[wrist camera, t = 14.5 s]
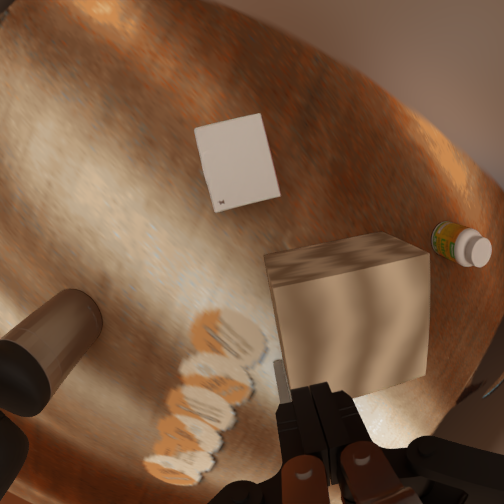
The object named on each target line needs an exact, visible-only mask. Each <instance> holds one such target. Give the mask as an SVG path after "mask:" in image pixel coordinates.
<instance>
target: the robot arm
mask: <svg viewBox="0 0 504 504" xmlns="http://www.w3.org/2000/svg"><path fill="white" fill-rule="evenodd" d="M101 329H102V318H101V314H100V311H99V309H98V307H97V306H96V304H95V303H94V301H93V300H92V299H91V298H90V297H89V296H87V295H86V294H85V293H83V292H81V291H79V290H75V289H66V290H63V291H61V292H60V293H58V294H57V295H56V296H54V297H53V298H52V299H50V300H49V301H47V302H46V303H45V304H43V305H42V306H41V307H40V308H38V309H37V310H36V311H34V312H33V313H32V314H30V315H29V316H28V317H27V318H25V319H24V320H23V321H22V322H20V323H19V324H18V325H17V326H15V327H14V328H13V329H12V330H10V331H9V332H8V333H7V334H6V335H4V336H3V337H2V338H1V339H0V408H3V409H5V410H7V411H9V412H11V413H13V414H16V415H19V416H23V417H32V416H35V415H37V414H39V413H40V412H41V411H42V410H43V409H44V407H45V406H46V405H47V403H48V402H49V400H50V399H51V398H52V396H53V395H54V394H55V392H56V391H57V389H58V388H59V387H60V385H61V384H62V383H63V381H64V380H65V379H66V377H67V376H68V375H69V373H70V372H71V371H72V369H73V368H74V367H75V365H76V364H77V363H78V361H79V360H80V359H81V358H82V356H83V355H84V354H85V352H86V351H87V350H88V349H89V347H90V346H91V345H92V343H93V342H94V341H95V340H96V338H97V337H98V336H99V334H100V332H101ZM290 392H291V398H292V402H288V403H283V404H279V407H278V409H277V411H276V420H277V427H278V434H279V440H280V447H281V454H282V467H281V469H280V470H279V472H278V473H277V474H276V475H275V476H273V477H272V478H270V479H268V480H266V481H264V482H261V483H259V484H256V483H254V482H251V481H245V480H241V481H235V482H232V483H230V484H228V485H226V486H225V487H224V488H223V489H222V490H221V491H220V492H219V493H218V494H217V495H216V496H215V497H214V498H213V499H212V500H211V501H210V502H209V503H207V504H330V499H329V492H328V486H330V480H331V484H332V485H334V484H338V483H339V487H340V490H341V500H342V503H343V504H504V455H501V454H497V453H493V452H489V451H485V450H481V449H477V448H473V447H469V446H466V445H462V444H459V443H455V442H452V441H448V440H445V439H442V438H438V437H435V436H422V437H419V438H416V439H415V440H413V441H412V442H411V443H410V444H409V446H408V447H407V448H398V449H386V448H382V447H379V446H378V445H377V444H375V443H373V441H372V440H371V438H370V436H369V434H368V432H367V430H366V427H365V425H364V423H363V421H362V419H361V417H360V415H359V413H358V410H357V408H356V407H355V404H354V402H353V400H352V398H351V396H350V395H348V394H347V393H346V392H344V391H343V390H341V391H337V392H333V393H332V392H331V389H330V387H329V384H328V382H327V381H326V382H322V383H318V384H313V385H309V387H308V386H305V387H300V388H295V389H290ZM28 450H29V441H28V438H27V436H26V435H25V434H24V433H23V431H22V430H21V429H20V428H19V427H18V426H17V425H15V424H14V423H13V422H12V421H11V420H10V419H9V418H8V417H7V416H5V414H4V413H3V412H2V411H0V501H1V499H2V498H3V496H4V495H5V493H6V492H7V490H8V489H9V487H10V486H11V484H12V483H13V481H14V480H15V478H16V476H17V475H18V473H19V471H20V470H21V468H22V466H23V464H24V462H25V460H26V457H27V454H28Z"/></svg>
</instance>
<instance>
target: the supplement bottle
mask: <svg viewBox="0 0 504 504" xmlns="http://www.w3.org/2000/svg"><path fill="white" fill-rule="evenodd" d="M431 241H432V247H433V249H434V251H435V252H436V253H437V254H439V255H441V256H443V257H445V258H447V259H449V260H451V261H453V262H455V263H457V264H460V265H462V266H465V267H470V266H473V265H474V266H476V267H482V266H484V265H485V264H486V263H487V262H488V261H489V259H490V256H491V251H492V248H491V244H490V242H489V240H488V239H486V238H484V237H482V236H481V234H480V233H479V232H478V231H477V230H475V229H472V228H469V227H466V226H462V225H459V224H456V223H452V222H449V221H444V222H441V223H440V224H438V225H437V226H436V228H435V229H434V231H433V234H432V239H431Z"/></svg>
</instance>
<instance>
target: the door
mask: <svg viewBox="0 0 504 504" xmlns="http://www.w3.org/2000/svg"><path fill="white" fill-rule="evenodd" d="M273 363H274V369H275V375H276V380H277V386H278V392H279V398H280V403H281V404H283V403H288V402H291V401H290V396H289V392H288V388H287V383H286V379H285V375H284V371H283V366H282V362H281V360H280V361H275V362H273Z"/></svg>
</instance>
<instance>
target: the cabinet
mask: <svg viewBox="0 0 504 504" xmlns="http://www.w3.org/2000/svg"><path fill="white" fill-rule="evenodd" d="M264 261H265V266H266V271H267V276H268V282H269V287H270V292H271V298H272V303H273V309H274V314H275V319H276V325H277V330H278V336H279V341H280V346H281V352H282V357H283V362H284V366H285V370H286V375H287V379H288V384H289V388H290V389H295V388H300V387H305V386H308V387H309V385H313V384H318V383H322V382H326V381H327V382H328V384H329V387H330V389H331V392H332V393H333V392H337V391H341V390H343V391H344V392H346V393H347V394H348V395H350V396H351V398H356V397H359V396H363V395H366V394H370V393H373V392H376V391H380V390H383V389H386V388H389V387H392V386H395V385H398V384H401V383H404V382H407V381H410V380H413V379H416V378H419V377H421V376H424V375H425V373H426V363H427V352H428V338H429V319H430V253H428V252H426V251H424V250H421V249H419V248H417V247H415V246H413V245H411V244H409V243H406V242H404V241H402V240H400V239H398V238H395V237H393V236H391V235H389V234H387V233H384V232H382V231H381V232H376V233H371V234H366V235H361V236H356V237H351V238H346V239H341V240H336V241H331V242H326V243H321V244H316V245H311V246H306V247H301V248H296V249H291V250H286V251H281V252H276V253H271V254H266V255H264Z"/></svg>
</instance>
